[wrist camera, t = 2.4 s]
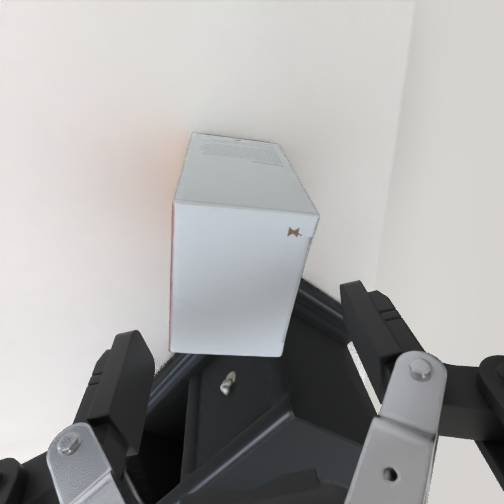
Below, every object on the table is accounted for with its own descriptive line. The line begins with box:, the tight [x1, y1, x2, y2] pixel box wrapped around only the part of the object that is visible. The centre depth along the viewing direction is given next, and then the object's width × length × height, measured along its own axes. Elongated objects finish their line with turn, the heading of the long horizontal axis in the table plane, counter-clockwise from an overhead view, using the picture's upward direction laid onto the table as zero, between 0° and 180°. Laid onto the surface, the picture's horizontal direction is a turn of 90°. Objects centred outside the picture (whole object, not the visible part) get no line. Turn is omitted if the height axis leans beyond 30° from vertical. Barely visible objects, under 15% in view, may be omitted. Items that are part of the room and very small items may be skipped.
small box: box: [169, 133, 320, 357], centre depth 19 cm, size 8×6×10 cm
